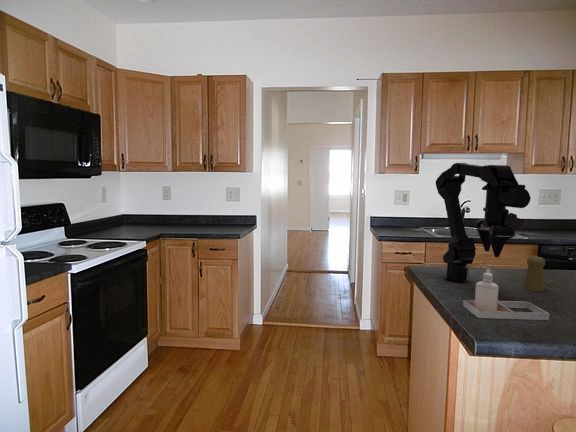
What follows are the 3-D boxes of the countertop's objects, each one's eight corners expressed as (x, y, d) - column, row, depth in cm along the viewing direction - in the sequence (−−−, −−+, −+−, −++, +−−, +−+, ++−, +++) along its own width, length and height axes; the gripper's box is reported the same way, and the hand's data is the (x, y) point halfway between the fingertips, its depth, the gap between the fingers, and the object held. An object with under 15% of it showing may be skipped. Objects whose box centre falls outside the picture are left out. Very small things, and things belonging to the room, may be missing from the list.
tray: (478, 318, 104) (478, 311, 104) (463, 305, 113) (463, 299, 113) (549, 320, 103) (549, 313, 103) (527, 307, 113) (528, 301, 113)
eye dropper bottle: (491, 315, 105) (494, 272, 104) (471, 309, 110) (474, 268, 108) (499, 312, 108) (502, 270, 106) (479, 306, 112) (482, 266, 111)
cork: (547, 292, 128) (550, 259, 127) (527, 290, 130) (530, 258, 128) (539, 286, 134) (542, 255, 133) (520, 285, 135) (523, 254, 134)
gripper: (537, 208, 112) (532, 262, 113) (512, 203, 130) (508, 249, 132) (495, 207, 114) (491, 260, 115) (476, 202, 132) (473, 248, 134)
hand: (491, 254), depth 124 cm, fingers open, 9 cm apart
